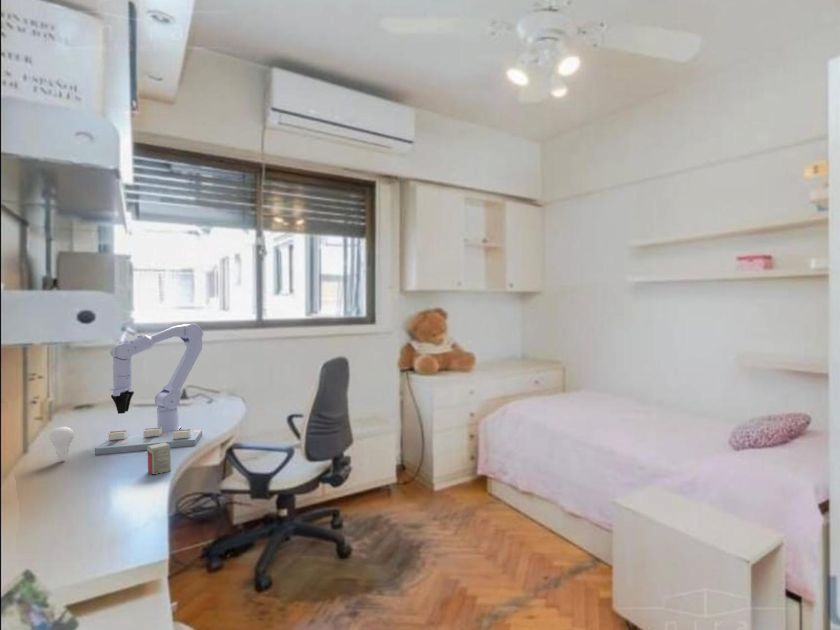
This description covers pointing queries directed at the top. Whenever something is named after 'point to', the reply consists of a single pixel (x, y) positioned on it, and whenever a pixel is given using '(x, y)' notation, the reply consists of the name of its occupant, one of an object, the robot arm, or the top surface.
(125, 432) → the knob
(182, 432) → the knob
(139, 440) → the switch unit
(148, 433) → the knob
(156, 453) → the small box
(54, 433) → the lightbulb
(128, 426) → the top surface
